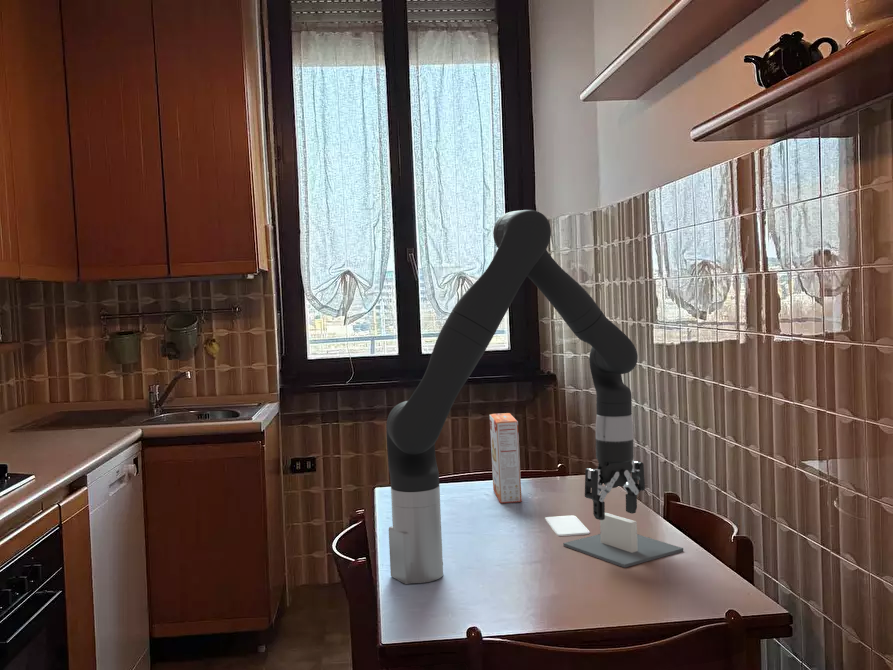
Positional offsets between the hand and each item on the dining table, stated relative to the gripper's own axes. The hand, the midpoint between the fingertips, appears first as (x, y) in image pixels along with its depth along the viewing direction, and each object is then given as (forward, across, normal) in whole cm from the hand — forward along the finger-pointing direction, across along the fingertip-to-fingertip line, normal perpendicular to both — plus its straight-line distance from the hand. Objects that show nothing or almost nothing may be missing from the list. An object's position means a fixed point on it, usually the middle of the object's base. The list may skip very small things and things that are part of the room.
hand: (615, 515), depth 174 cm
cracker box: (+7, +10, +51) cm, 52 cm away
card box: (+6, 0, 0) cm, 6 cm away
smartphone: (+8, +4, +20) cm, 22 cm away
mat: (+7, +1, 0) cm, 7 cm away
